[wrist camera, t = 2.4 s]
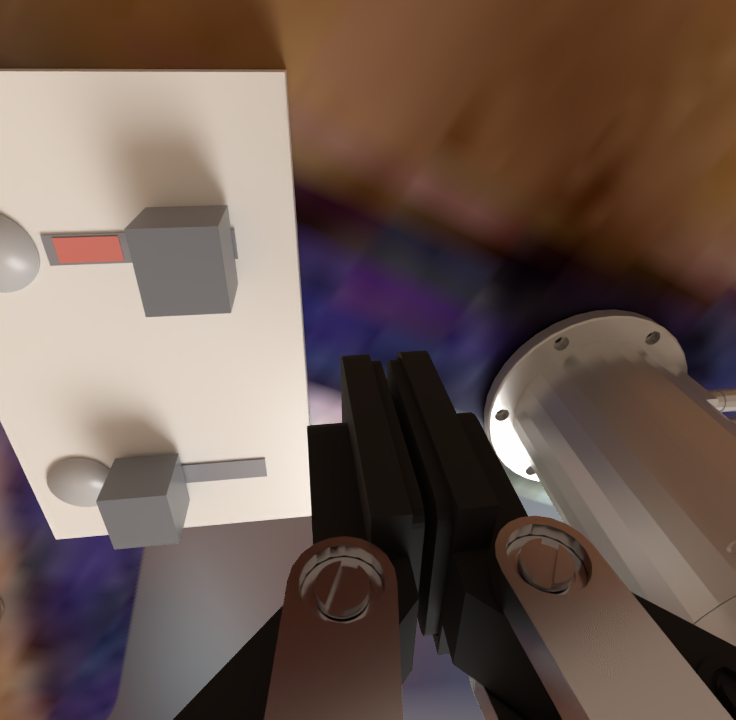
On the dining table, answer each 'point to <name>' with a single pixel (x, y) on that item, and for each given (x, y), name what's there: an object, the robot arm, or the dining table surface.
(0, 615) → the beer glass
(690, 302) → the dining table surface
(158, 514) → the back switch
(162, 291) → the front switch
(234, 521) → the switch panel
